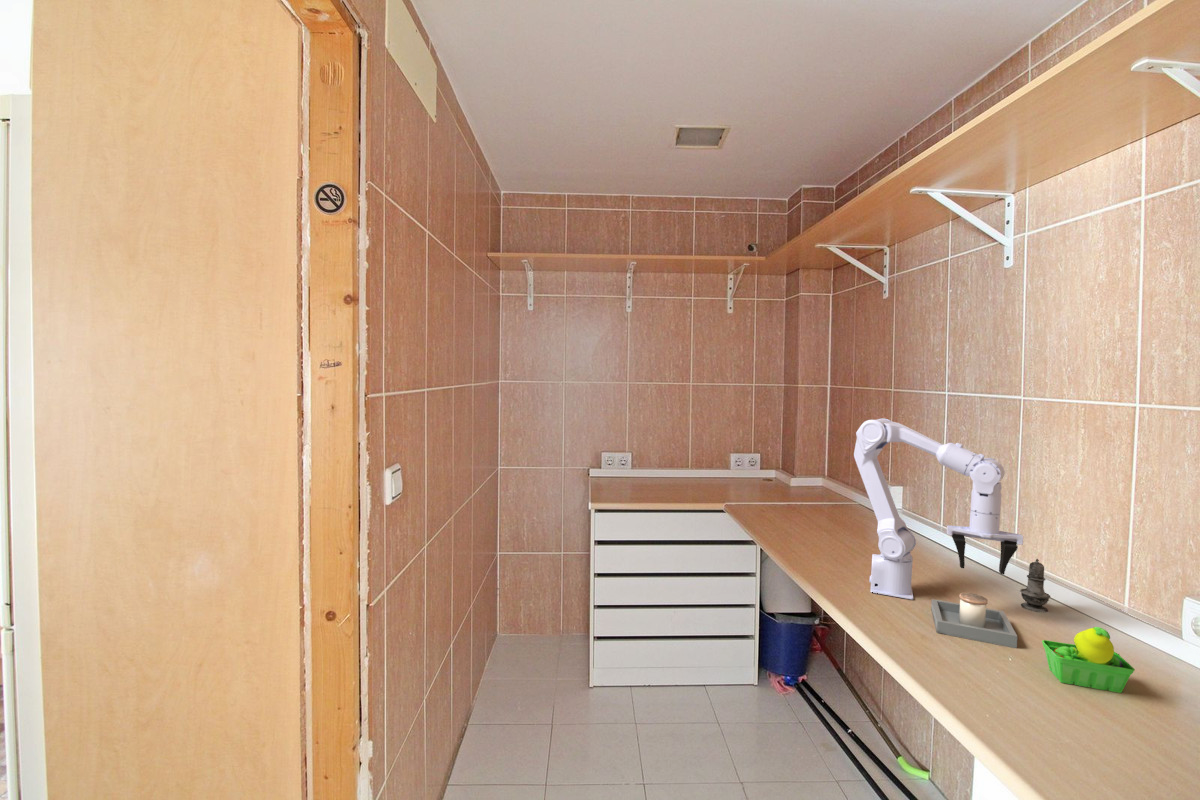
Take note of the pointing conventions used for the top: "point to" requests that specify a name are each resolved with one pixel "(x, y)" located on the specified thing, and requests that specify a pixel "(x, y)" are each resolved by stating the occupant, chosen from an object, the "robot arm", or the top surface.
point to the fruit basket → (1088, 661)
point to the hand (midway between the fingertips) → (981, 570)
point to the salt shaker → (1035, 589)
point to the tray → (994, 630)
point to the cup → (972, 610)
